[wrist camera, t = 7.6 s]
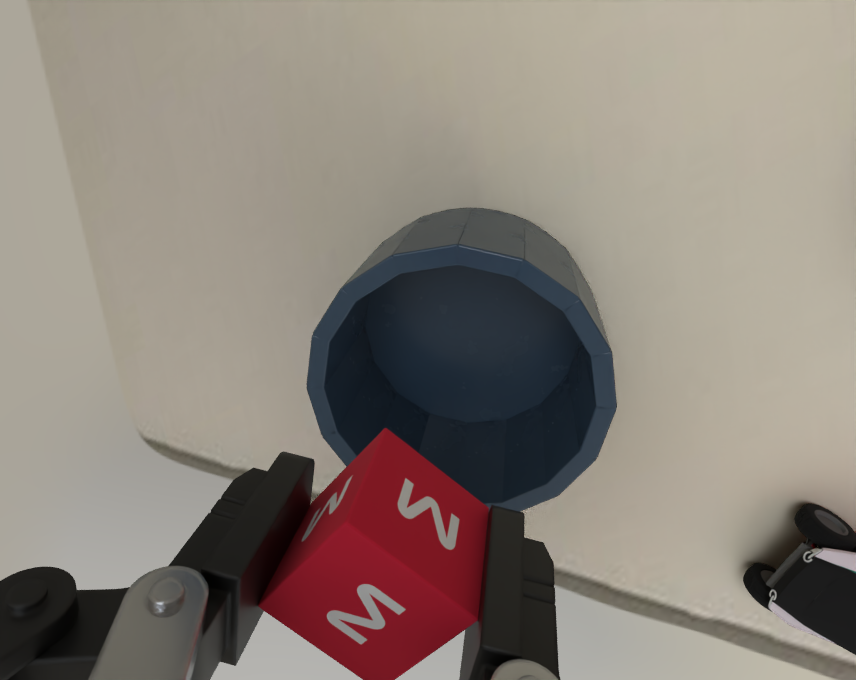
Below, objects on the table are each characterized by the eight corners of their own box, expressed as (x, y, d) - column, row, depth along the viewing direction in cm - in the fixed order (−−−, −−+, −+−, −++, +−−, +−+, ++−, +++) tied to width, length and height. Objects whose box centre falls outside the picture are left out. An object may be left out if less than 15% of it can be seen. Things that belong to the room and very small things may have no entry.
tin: (342, 398, 33) (295, 479, 26) (373, 182, 28) (324, 213, 21) (554, 451, 32) (562, 548, 26) (628, 239, 27) (663, 290, 20)
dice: (385, 426, 12) (345, 521, 10) (490, 507, 13) (479, 621, 10) (311, 502, 14) (256, 607, 11) (408, 574, 14) (379, 691, 11)
